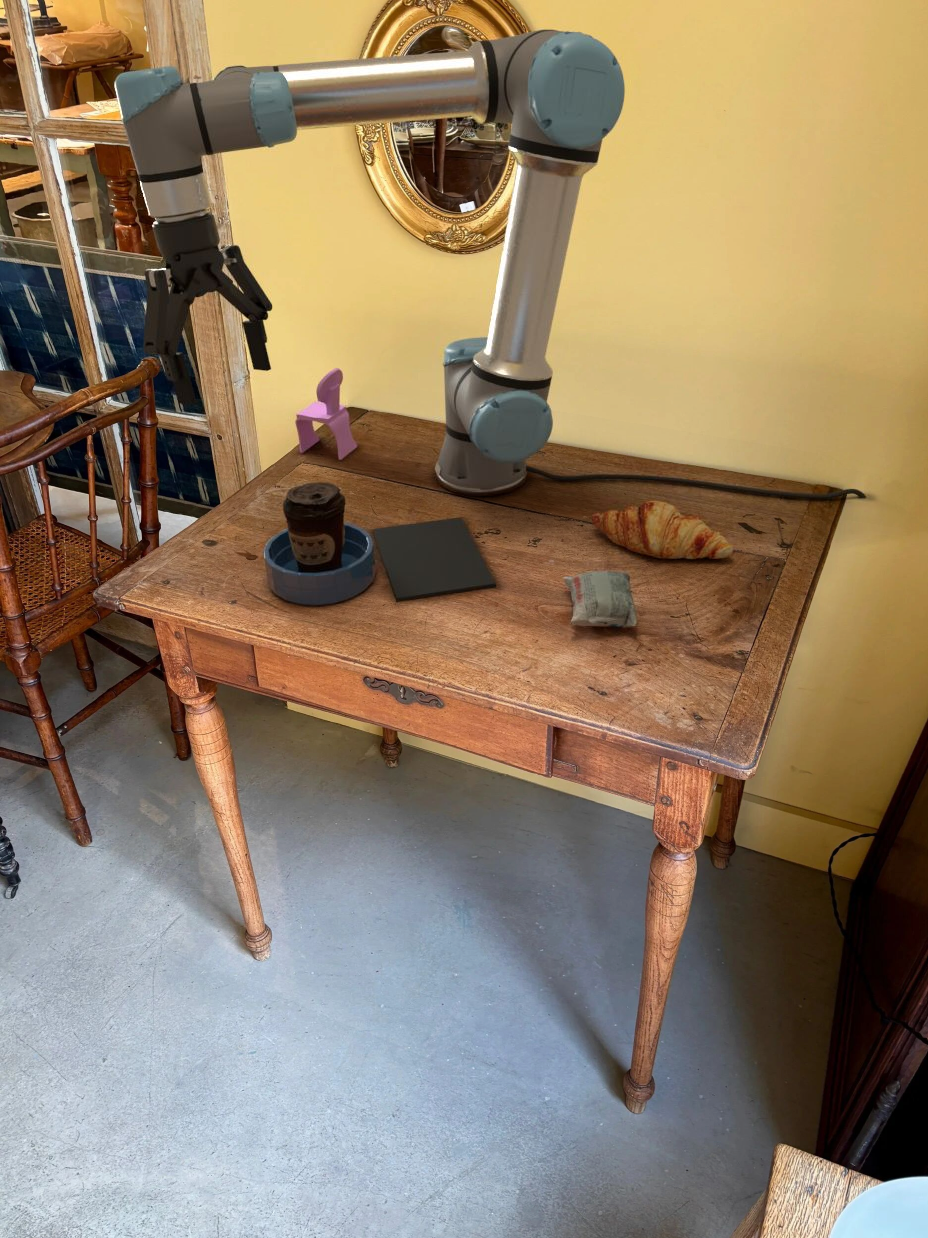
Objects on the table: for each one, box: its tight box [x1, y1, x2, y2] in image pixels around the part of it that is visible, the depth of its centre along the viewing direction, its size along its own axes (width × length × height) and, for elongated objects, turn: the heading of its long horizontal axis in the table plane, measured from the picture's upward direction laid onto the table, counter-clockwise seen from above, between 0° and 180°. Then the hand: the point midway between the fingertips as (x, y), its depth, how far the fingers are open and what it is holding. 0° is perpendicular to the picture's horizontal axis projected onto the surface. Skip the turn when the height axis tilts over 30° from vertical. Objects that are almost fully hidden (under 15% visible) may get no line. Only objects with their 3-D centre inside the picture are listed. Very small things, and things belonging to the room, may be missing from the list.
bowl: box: [263, 522, 377, 606], centre depth 131 cm, size 15×15×5 cm
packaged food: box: [562, 570, 638, 628], centre depth 122 cm, size 9×12×5 cm
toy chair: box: [295, 367, 358, 461], centre depth 164 cm, size 8×9×15 cm
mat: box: [372, 516, 497, 603], centre depth 136 cm, size 14×20×1 cm
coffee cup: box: [282, 481, 346, 573], centre depth 128 cm, size 9×8×13 cm
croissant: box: [591, 499, 734, 560], centre depth 136 cm, size 21×10×8 cm, turn 65°
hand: (226, 385), depth 125 cm, fingers open, 13 cm apart
